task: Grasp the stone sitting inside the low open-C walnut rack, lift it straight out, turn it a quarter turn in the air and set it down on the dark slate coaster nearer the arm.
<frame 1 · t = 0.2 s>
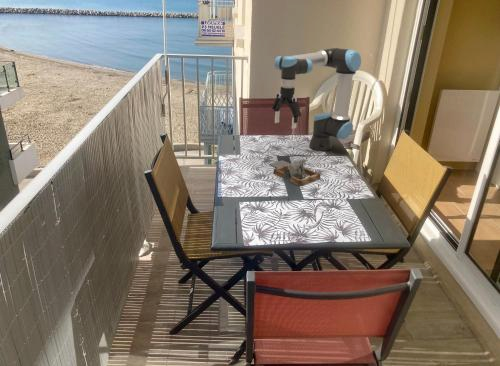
hand: (285, 125, 229), 27 cm above the table, fingers open, 13 cm apart
stone: (296, 177, 233), on the table
walnut rack: (296, 176, 233), on the table
slate coaster: (281, 165, 248), on the table
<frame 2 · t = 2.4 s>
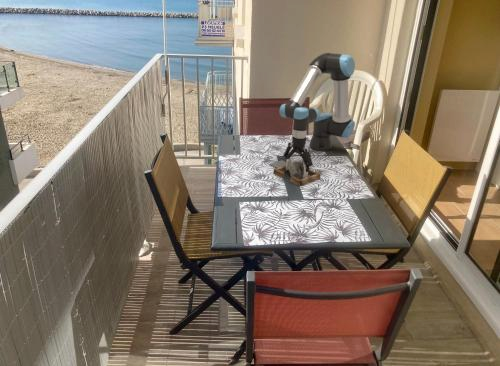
hand: (296, 173, 232), 2 cm above the table, fingers open, 13 cm apart
stone: (296, 177, 233), on the table, touching gripper
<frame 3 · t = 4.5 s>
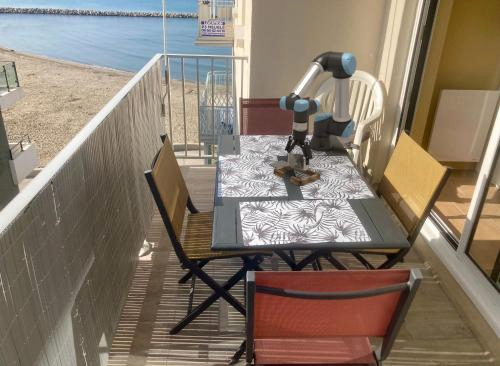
hand: (297, 166, 231), 6 cm above the table, fingers closed on stone, 11 cm apart
stone: (296, 168, 232), point 4 cm above the table, touching gripper
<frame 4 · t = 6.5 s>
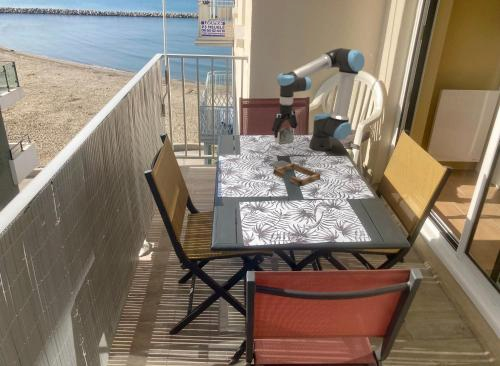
hand: (284, 140, 241), 16 cm above the table, fingers closed on stone, 11 cm apart
stone: (285, 143, 242), point 14 cm above the table, touching gripper
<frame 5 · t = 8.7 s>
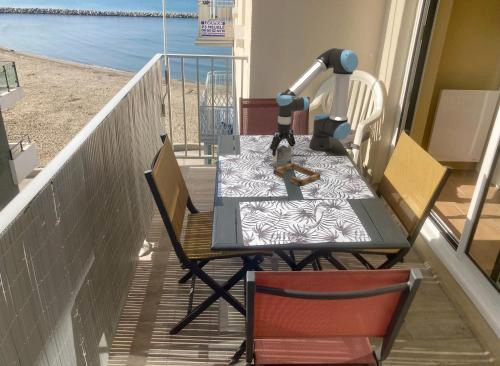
hand: (282, 158, 246), 5 cm above the table, fingers closed on stone, 11 cm apart
stone: (282, 160, 247), point 3 cm above the table, touching gripper
when the fingers open (4 cm above the table, at t = 10.0 s): stone drops 2 cm, resting on slate coaster.
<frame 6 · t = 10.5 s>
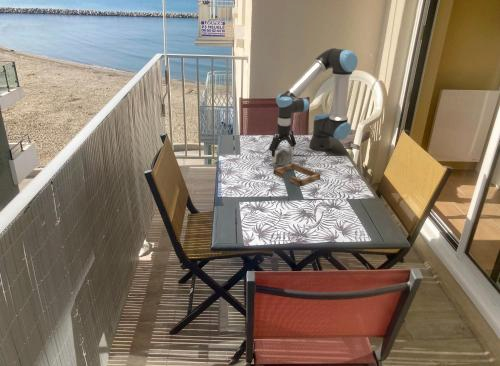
hand: (282, 159, 246), 4 cm above the table, fingers open, 13 cm apart
stone: (282, 164, 248), resting on slate coaster
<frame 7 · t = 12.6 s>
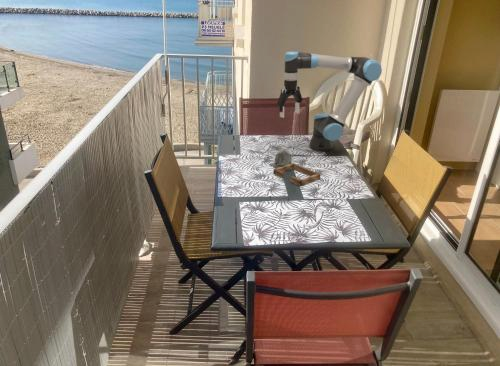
hand: (289, 115, 251), 27 cm above the table, fingers open, 13 cm apart
nothing on the table moved.
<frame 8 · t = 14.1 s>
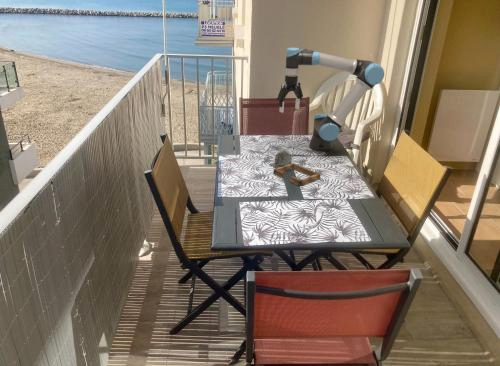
hand: (289, 110, 254), 29 cm above the table, fingers open, 13 cm apart
nothing on the table moved.
at the end: stone inside the target area on the slate coaster (0.9 cm from its centre), point 0.4 cm above the slate coaster's base; the gripper is holding nothing; stone moved 18.1 cm from its start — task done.
